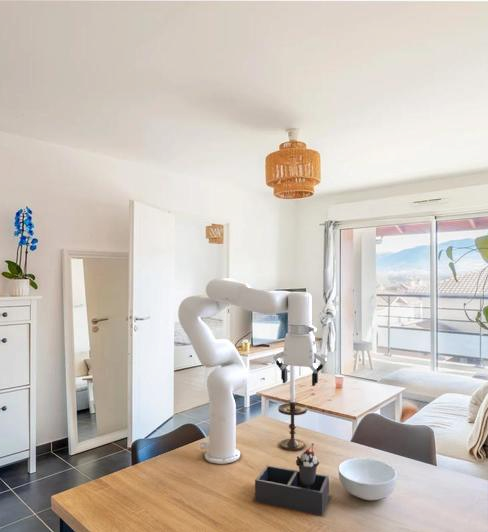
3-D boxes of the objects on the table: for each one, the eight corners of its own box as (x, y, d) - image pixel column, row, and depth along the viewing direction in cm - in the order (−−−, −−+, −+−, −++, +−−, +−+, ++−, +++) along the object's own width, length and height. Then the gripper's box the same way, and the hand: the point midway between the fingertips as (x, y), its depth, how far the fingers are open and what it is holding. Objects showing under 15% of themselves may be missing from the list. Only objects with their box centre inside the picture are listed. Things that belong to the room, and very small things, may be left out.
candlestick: (279, 452, 148) (279, 356, 149) (277, 440, 159) (277, 351, 160) (308, 452, 148) (308, 356, 149) (304, 440, 159) (304, 351, 160)
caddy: (322, 515, 108) (322, 493, 108) (254, 501, 115) (254, 480, 115) (328, 496, 118) (328, 476, 118) (266, 484, 124) (266, 465, 125)
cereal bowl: (357, 474, 131) (357, 452, 132) (407, 493, 119) (406, 469, 120) (327, 493, 119) (327, 469, 120) (378, 517, 108) (378, 490, 108)
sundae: (322, 494, 116) (322, 442, 117) (315, 506, 110) (315, 451, 111) (300, 489, 119) (300, 438, 120) (292, 501, 113) (292, 447, 114)
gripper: (328, 330, 130) (328, 383, 129) (277, 327, 136) (277, 378, 135) (323, 333, 123) (323, 389, 122) (270, 330, 129) (270, 383, 128)
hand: (299, 383), depth 129 cm, fingers open, 9 cm apart
